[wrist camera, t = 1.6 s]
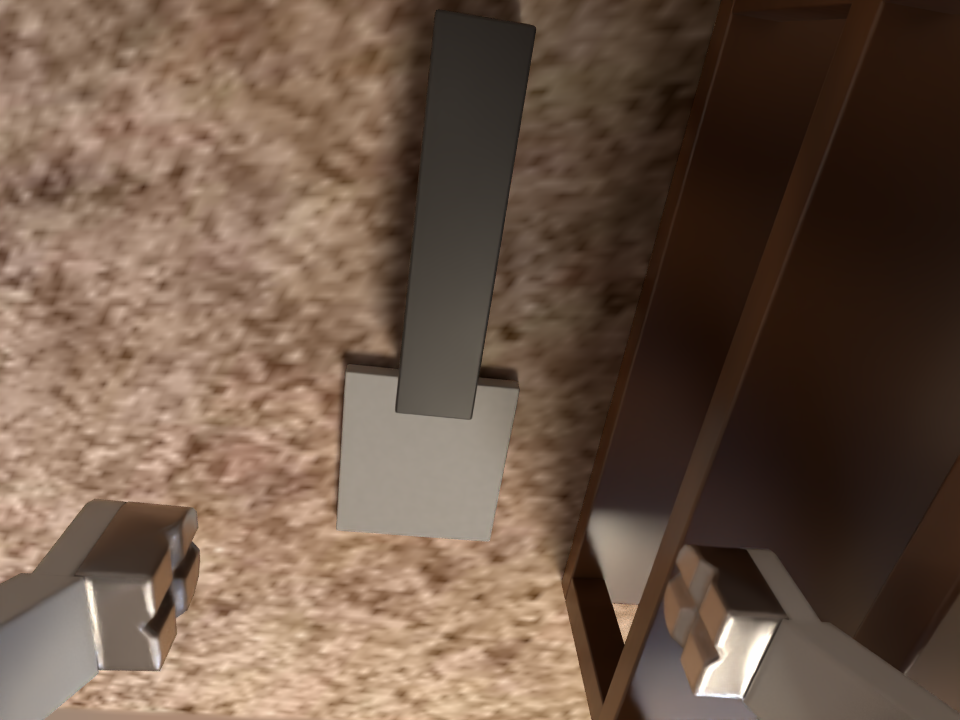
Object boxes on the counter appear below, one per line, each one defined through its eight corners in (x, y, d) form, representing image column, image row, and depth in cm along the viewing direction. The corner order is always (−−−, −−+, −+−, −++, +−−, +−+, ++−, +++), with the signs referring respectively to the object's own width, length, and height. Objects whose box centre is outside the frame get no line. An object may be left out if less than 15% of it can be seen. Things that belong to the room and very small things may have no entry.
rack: (732, -44, 17) (1508, -257, 5) (1061, 17, 18) (2385, -22, 6) (560, 582, 27) (661, 1042, 15) (779, 597, 28) (1043, 1035, 16)
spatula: (369, 1, 17) (356, -5, 14) (585, 37, 18) (611, 38, 15) (338, 520, 25) (325, 578, 22) (488, 531, 26) (494, 588, 23)
